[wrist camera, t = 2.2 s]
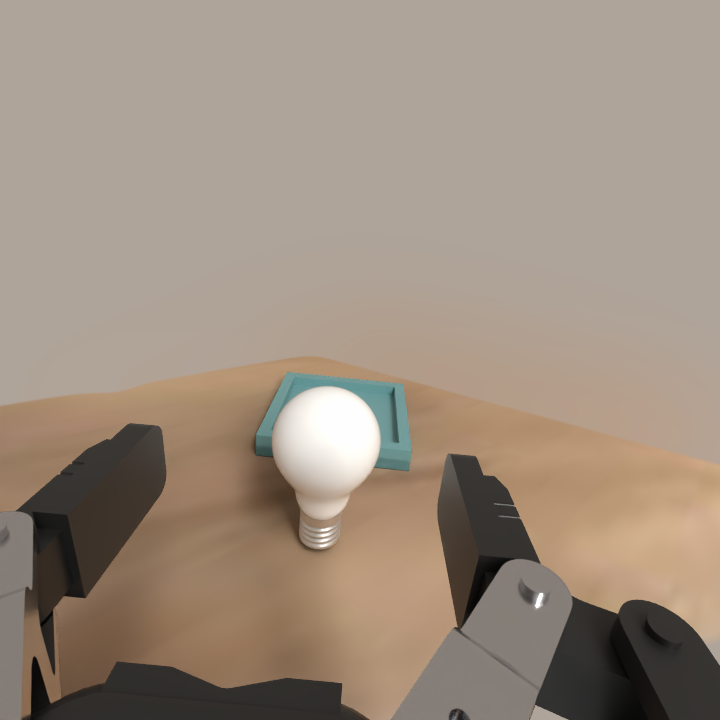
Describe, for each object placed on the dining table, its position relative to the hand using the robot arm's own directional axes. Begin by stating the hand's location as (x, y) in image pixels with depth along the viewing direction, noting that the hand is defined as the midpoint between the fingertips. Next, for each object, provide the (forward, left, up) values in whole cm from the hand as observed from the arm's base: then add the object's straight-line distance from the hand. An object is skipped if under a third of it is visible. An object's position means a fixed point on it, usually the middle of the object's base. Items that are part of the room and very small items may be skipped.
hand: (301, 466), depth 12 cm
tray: (0, +26, -14) cm, 30 cm away
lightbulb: (0, +11, -14) cm, 18 cm away
